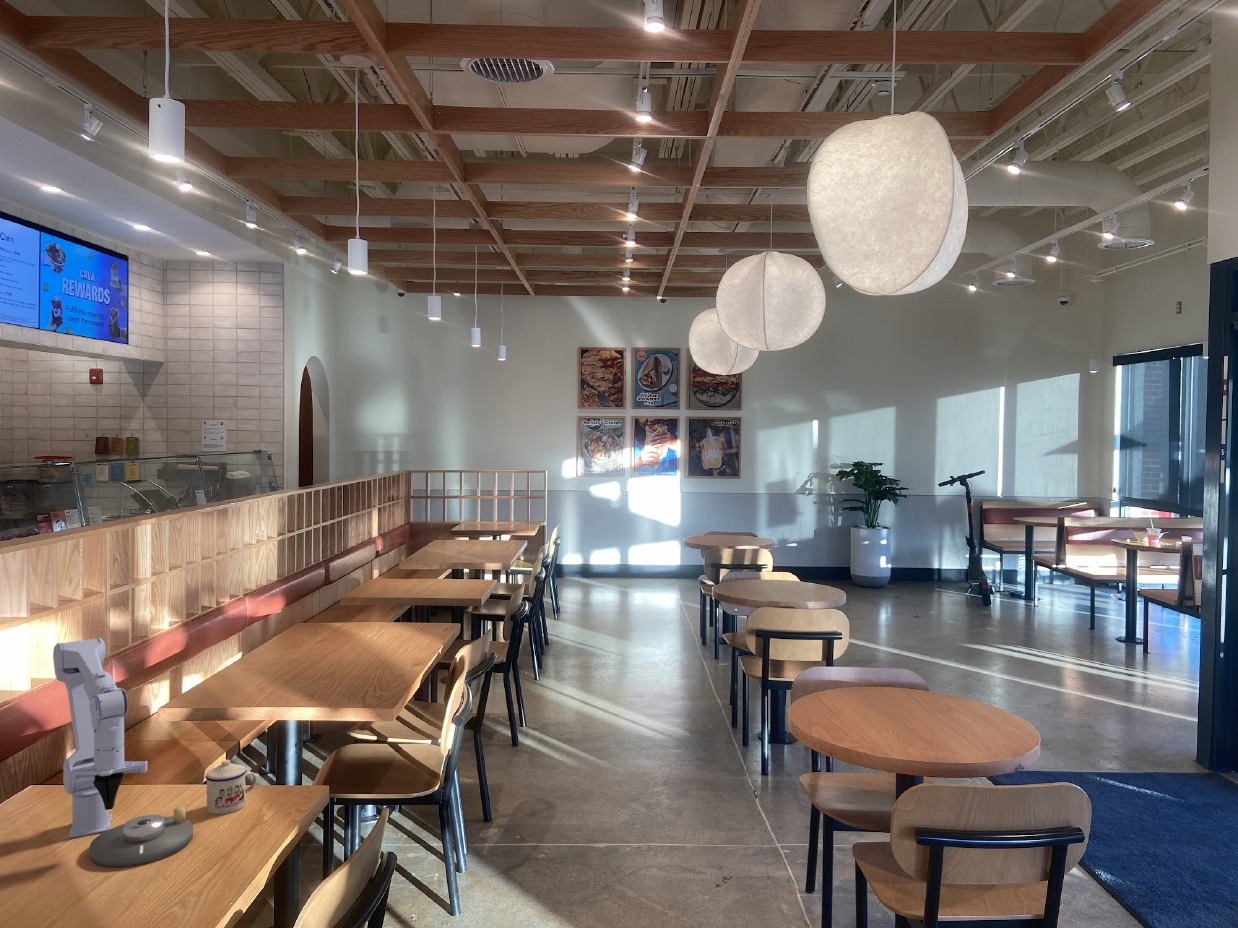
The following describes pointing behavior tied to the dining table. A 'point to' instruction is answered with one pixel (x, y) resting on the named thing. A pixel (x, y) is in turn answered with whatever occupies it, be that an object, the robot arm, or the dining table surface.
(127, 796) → the dining table surface
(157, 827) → the cover
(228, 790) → the teacup with lid
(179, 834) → the turntable
